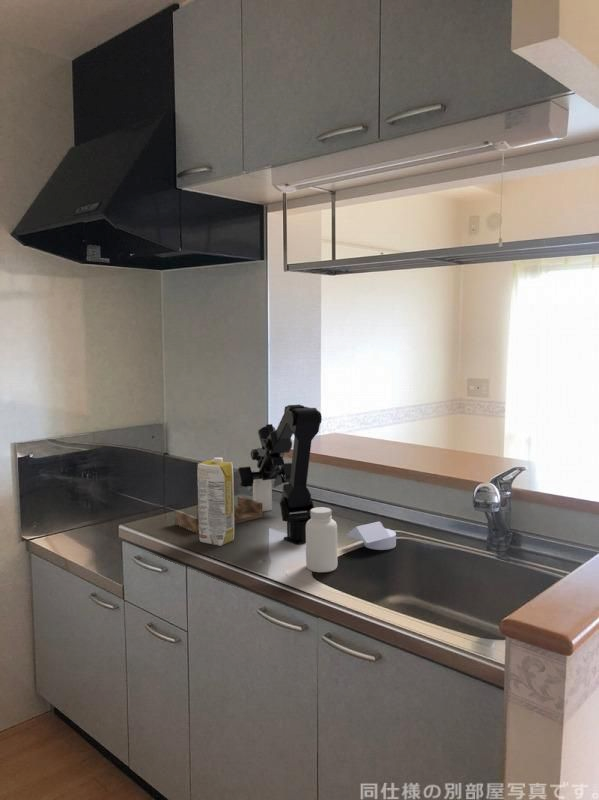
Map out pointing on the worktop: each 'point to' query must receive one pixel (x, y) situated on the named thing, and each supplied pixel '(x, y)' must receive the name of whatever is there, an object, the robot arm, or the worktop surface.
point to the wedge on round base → (374, 536)
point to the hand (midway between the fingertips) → (261, 487)
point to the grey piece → (263, 492)
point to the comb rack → (241, 513)
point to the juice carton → (216, 501)
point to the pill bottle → (321, 541)
